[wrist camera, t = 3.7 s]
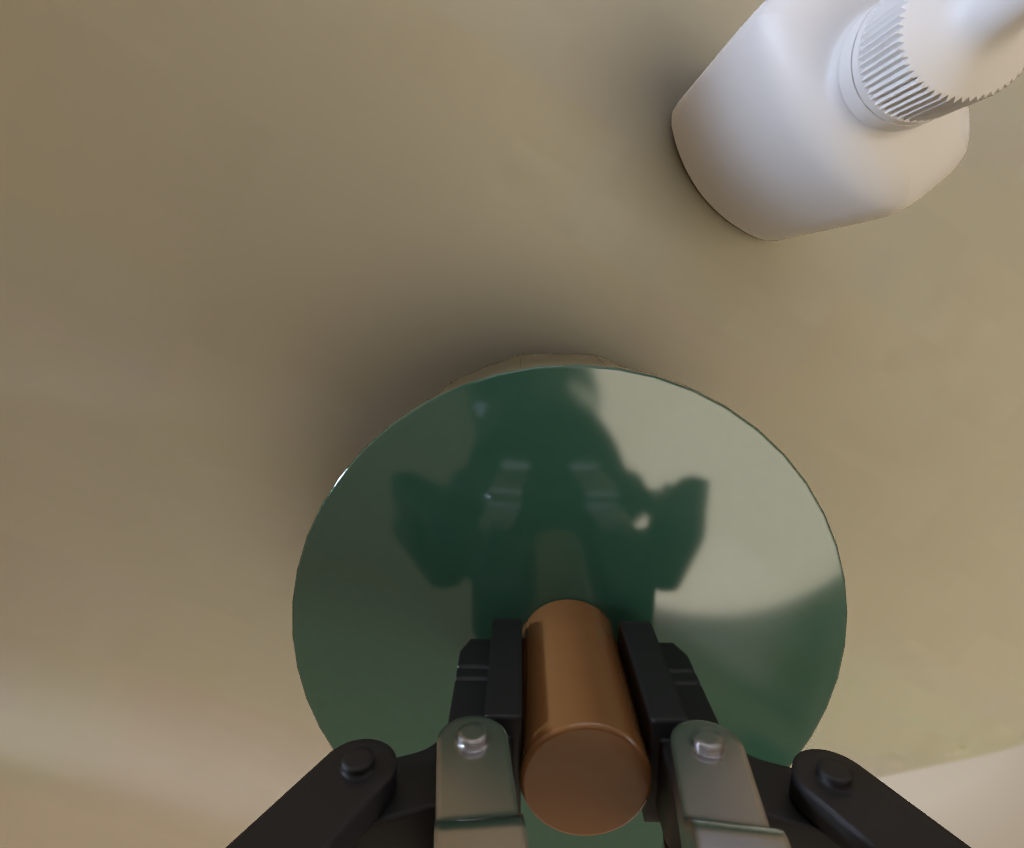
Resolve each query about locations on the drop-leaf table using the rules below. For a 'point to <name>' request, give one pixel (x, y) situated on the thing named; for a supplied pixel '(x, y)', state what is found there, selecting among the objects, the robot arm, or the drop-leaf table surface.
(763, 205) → the eye dropper bottle
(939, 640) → the drop-leaf table surface
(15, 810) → the drop-leaf table surface
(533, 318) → the drop-leaf table surface
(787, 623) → the canister lid
